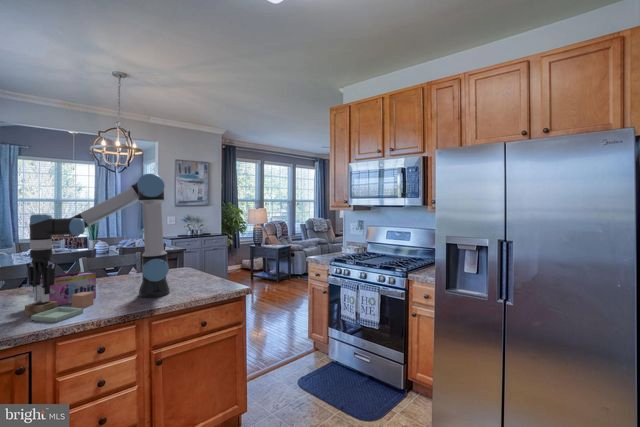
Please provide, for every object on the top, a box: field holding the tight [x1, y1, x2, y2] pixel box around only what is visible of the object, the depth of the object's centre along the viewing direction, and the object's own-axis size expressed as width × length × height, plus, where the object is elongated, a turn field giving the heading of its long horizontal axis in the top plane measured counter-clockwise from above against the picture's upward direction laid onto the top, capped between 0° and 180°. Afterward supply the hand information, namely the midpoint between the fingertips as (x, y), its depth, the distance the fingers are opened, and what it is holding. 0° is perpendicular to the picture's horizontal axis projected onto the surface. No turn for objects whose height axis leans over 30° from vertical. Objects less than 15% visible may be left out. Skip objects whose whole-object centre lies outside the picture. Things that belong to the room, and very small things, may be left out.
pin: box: [37, 284, 46, 305], centre depth 147 cm, size 3×3×12 cm
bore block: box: [24, 301, 59, 317], centre depth 147 cm, size 8×8×4 cm
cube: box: [71, 292, 95, 309], centre depth 158 cm, size 6×6×6 cm
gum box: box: [40, 270, 97, 306], centre depth 164 cm, size 24×8×14 cm, turn 142°
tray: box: [30, 306, 84, 323], centre depth 143 cm, size 13×13×2 cm
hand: (41, 301), depth 147 cm, fingers open, 3 cm apart
